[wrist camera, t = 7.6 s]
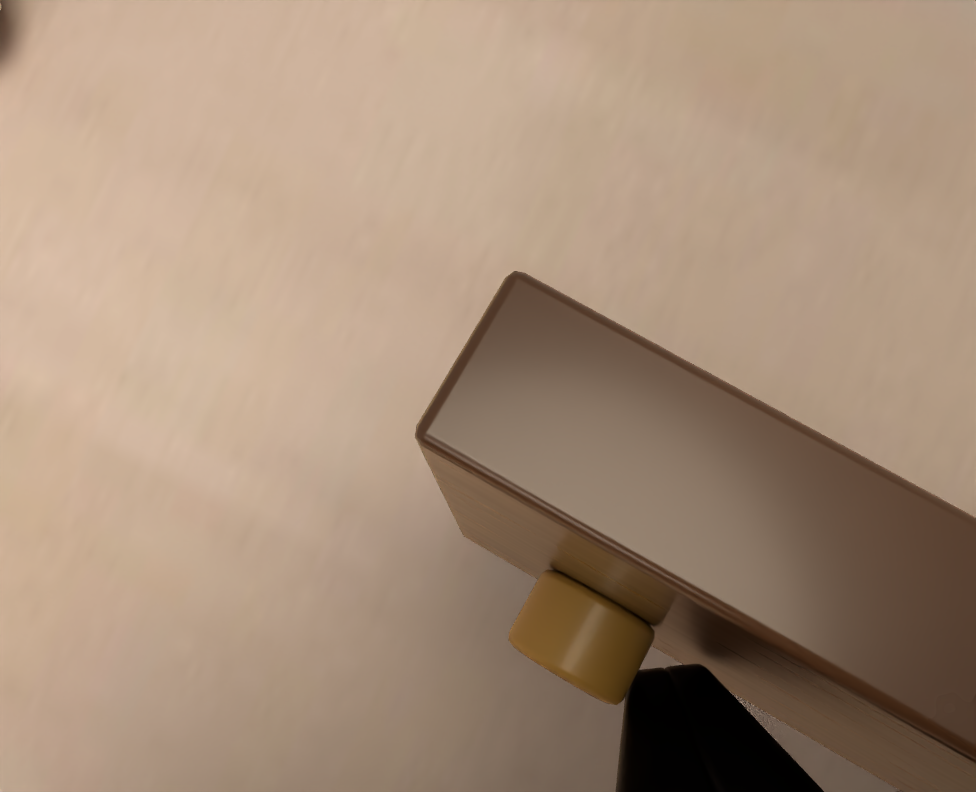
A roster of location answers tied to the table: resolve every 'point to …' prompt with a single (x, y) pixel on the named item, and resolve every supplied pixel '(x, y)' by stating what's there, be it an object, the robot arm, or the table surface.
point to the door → (708, 538)
